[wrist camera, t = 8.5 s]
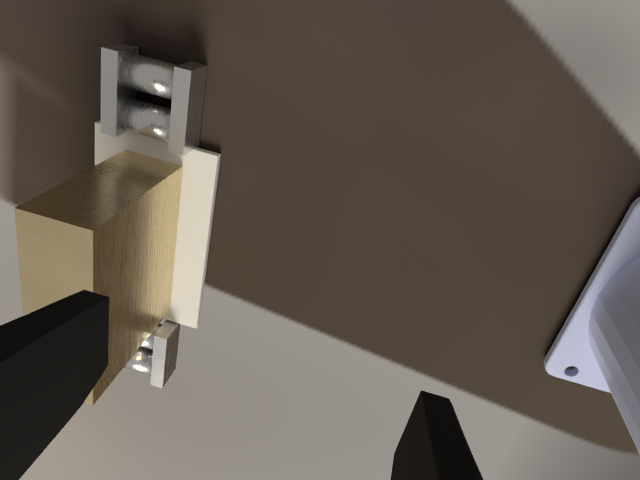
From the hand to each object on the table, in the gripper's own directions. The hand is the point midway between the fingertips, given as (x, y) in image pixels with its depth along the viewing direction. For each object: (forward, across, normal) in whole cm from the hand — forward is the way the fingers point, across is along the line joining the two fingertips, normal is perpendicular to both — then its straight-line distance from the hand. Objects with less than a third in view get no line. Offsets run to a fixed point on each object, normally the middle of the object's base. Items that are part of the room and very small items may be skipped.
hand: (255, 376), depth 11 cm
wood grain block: (+9, +7, +3) cm, 12 cm away
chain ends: (+9, +7, +3) cm, 12 cm away
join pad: (+9, +7, +3) cm, 12 cm away
